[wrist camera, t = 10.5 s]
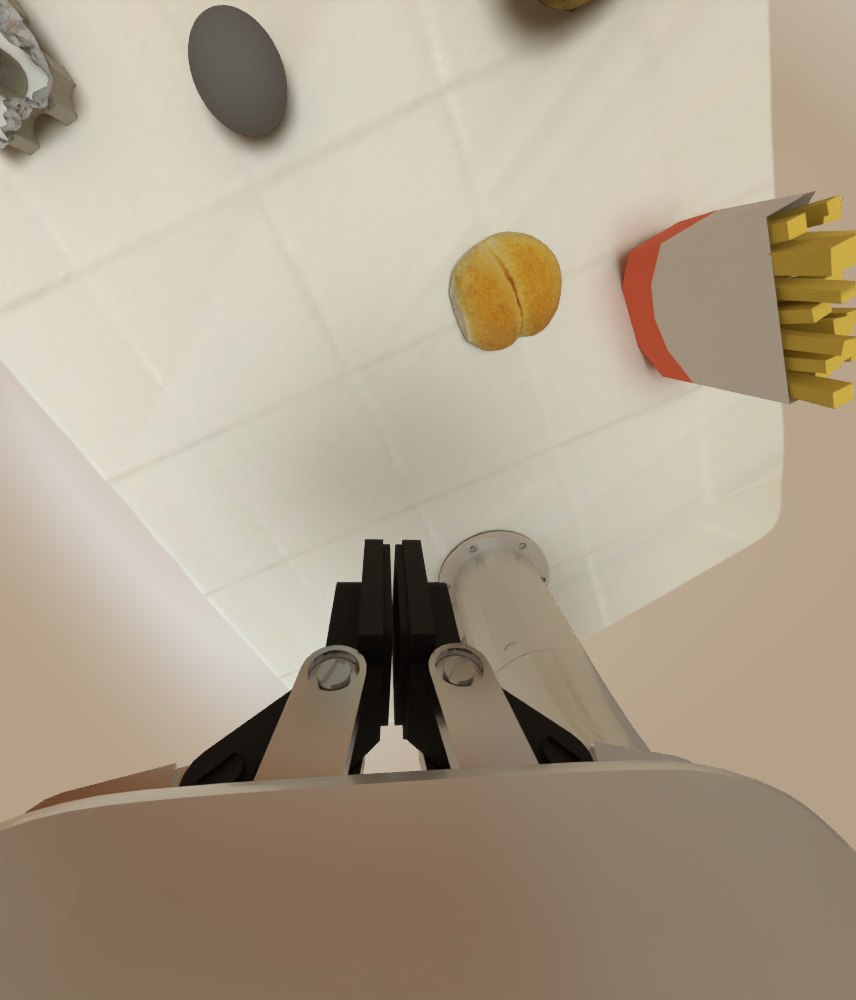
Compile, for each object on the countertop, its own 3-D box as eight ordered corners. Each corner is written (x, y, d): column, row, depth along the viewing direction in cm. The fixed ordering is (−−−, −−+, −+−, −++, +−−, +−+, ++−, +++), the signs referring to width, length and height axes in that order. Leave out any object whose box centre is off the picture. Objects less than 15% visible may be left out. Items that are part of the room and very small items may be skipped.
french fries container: (663, 225, 33) (936, 139, 17) (690, 347, 37) (927, 373, 21) (611, 256, 33) (827, 202, 17) (645, 372, 38) (841, 416, 22)
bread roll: (563, 318, 35) (584, 318, 32) (470, 360, 36) (480, 366, 33) (538, 213, 32) (558, 201, 28) (435, 263, 33) (442, 257, 29)
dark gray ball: (243, -44, 22) (276, 62, 27) (149, -6, 22) (201, 93, 27) (286, 55, 22) (310, 139, 28) (195, 93, 22) (237, 170, 27)
